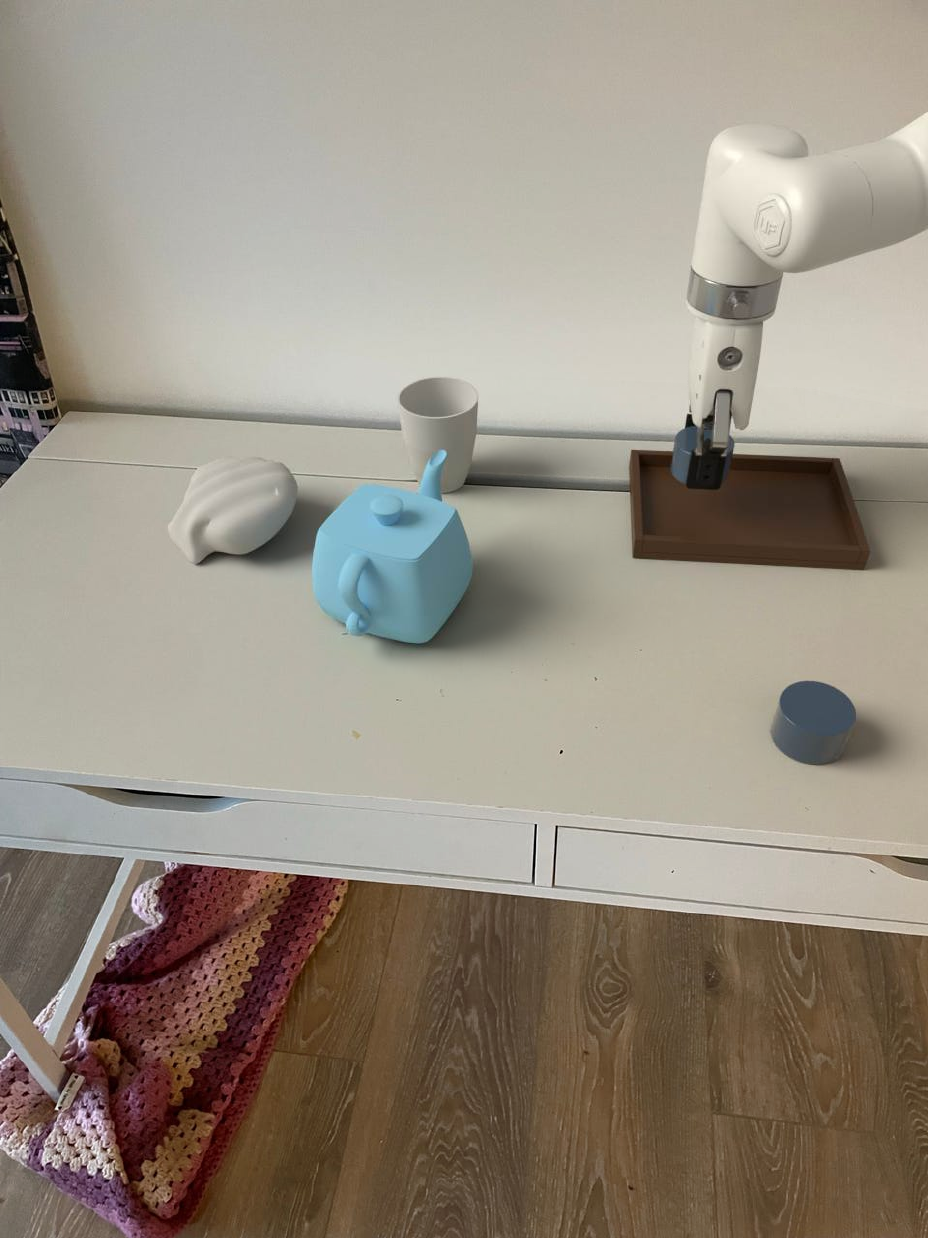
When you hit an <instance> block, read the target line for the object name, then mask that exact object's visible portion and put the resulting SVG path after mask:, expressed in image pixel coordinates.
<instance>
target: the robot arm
mask: <svg viewBox="0 0 928 1238" xmlns="http://www.w3.org/2000/svg"><path fill="white" fill-rule="evenodd" d="M706 158H707V159H706V164H705V165H706V166H705V171H704V178H703V185H702V191H701V198H700V206H699V212H698V217H697V218H698V219H697V225H696V232H695V238H694V243H693V251H692V259H691V265H690V272H689V278H688V284H687V292H686V299H685V306H686V308H687V310H688V311H689V312H690V313H691V314H692V315H694V316H695V321H694V327H693V332H692V338H691V345H690V351H689V352H690V353H689V359H688V370H687V388H688V397H689V406H688V407H689V408H688V409H689V411H688V412H689V413H686V417H685V424H684V428H687V427H691V426H697V427H698V429H697V438H696V446H695V450H691V456H690V462H689V468H688V473H687V479H686V486H687V488H689V489H707V490H718V489H719V488H720V487H721V482H722V477H723V472H724V467H725V463H726V458H727V448H728V441H729V435H730V433H731V425H732V420H733V424H734V429H735V430H740V431H744V430H746V429H747V428H748V427H749V424H750V418H751V412H752V407H753V400H754V395H755V390H756V384H757V377H758V372H759V366H760V358H761V350H762V342H763V333H764V322H766V321H768V320H769V319H770V318H772V317H773V316H774V314H775V312H776V308H777V304H778V299H779V295H780V290H781V287H782V282H783V277H784V273H787V274H790V273H791V274H799V273H805V272H810V271H813V270H816V269H820V268H823V267H826V266H829V265H833V264H836V263H839V262H842V261H845V260H847V259H851V258H855V257H857V256H861V255H863V254H864V255H865V254H867V253H871V252H875V251H879V250H881V249H884V248H885V249H886V248H888V247H891V246H894V245H896V244H899V243H902V242H904V241H906V240H909V239H911V238H913V237H915V236H917V235H919V234H921V233H923V232H925V231H927V230H928V111H926V112H925V113H923V114H922V115H920V116H919V117H917V118H916V119H914V120H913V121H911V122H910V123H908V124H906V125H905V126H903V127H902V128H900V129H899V130H897V131H895V132H893V133H892V134H890V135H887V136H886V137H883V138H882V139H880V140H877V141H873V142H868V143H862V144H859V145H855V146H850V147H847V148H842V149H838V150H834V151H830V152H826V153H823V154H816V155H809V146H808V144H807V141H806V139H805V138H804V137H803V136H802V135H801V133H799V132H797V131H795V130H793V129H790V128H789V127H784V126H780V125H775V124H769V123H746V124H739V125H734V126H731V127H727V128H725V129H724V130H722V131H721V132H720V133H718V134H717V135H716V136H715V137H714V138H713V140H712V142H711V144H710V147H709V150H708V154H707V157H706ZM705 429H707V430H712V434H711V437H710V438H706V439H705V441H704V434H705Z"/></svg>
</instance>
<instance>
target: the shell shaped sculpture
mask: <svg viewBox="0 0 928 1238" xmlns="http://www.w3.org/2000/svg"><path fill="white" fill-rule="evenodd" d="M297 498H298V483H297V480H296V478H295V477H294V474H293V473H292V472H291V470H290V469H289V468H288V467H287V466H286V465H285V464H284V463H282V462H280V461H279V462H278V461H275V460H273V459H271V460H267V459H265V458H262V457H257V456H245V457H235V456H234V457H233V456H227V457H220V458H216V459H214V460H212V461H210V462H207V463H206V464H203V465H201V466H199V467H197V468H196V470H195V472H194V473H193V475H192V477H191V478H190V483H189V486H188V487H187V489H186V490H185V494H184V497H183V500H182V503H181V505H180V506H179V507H178V509H177V511H176V512H175V514H174V516H173V518H172V520H171V521H170V522H169V523H168V525H167V532H168V536H169V537H170V539H171V540H172V542H173V543H174V544H175V546H176V547H177V548H178V549H179V550H180V551H181V552H182V553H183V554H184V556H185V557H186V558H187V559H188V560H189V562H191V564H194V565H195V564H196V565H197V564H200V563H201V562H202V561H203V560H205V558H207V556H208V555H211V554H212V553H214V552H219V553H226V554H230V555H245V554H249V553H252V552H253V551H255V550H257V549H258V548H260V547H262V546H263V545H264V544H266V543H267V542H268V541H270V540H271V539H272V538H274V537H275V536H276V535H277V534H278V533H279V532H280V531H281V529H282V528H283V527H284V526H285V524H286V523H287V521H288V520H289V518H290V517H291V515H292V514H293V511H294V509H295V506H296V503H297Z"/></svg>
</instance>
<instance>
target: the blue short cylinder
mask: <svg viewBox="0 0 928 1238" xmlns="http://www.w3.org/2000/svg"><path fill="white" fill-rule="evenodd" d="M697 429H698V427H697V426H691V427H687V428H685V427H684V428H682V429H681V430H679V431H678V432H677V433H676V435H675V437H674V442H673V449H672V451H673V454H672V461H671V467H670V470H671V473H672V475H673V476H674V478H675V479H677V480H678V481H680V482H681V483H683V484H686V479H687V473H688V468H689V462H690V456H691V450H695V446H696V438H697ZM711 434H712V430H707V429H705V434H704V441H705V439H706V438H710V437H711ZM734 450H735V440H734V439H733V437H732V435H731V434H729V441H728V448H727V458H726V463H725V467H724V472H723V477H722V482H721V484H722V483H723V482H724V481H726V479H727V478H728V474H729V470H730V465H731V460H732V455H733V454H734Z"/></svg>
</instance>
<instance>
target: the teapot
mask: <svg viewBox="0 0 928 1238" xmlns="http://www.w3.org/2000/svg"><path fill="white" fill-rule="evenodd" d="M446 455H447V454H446V451H445V450H439V451H437V452H436V453H435V454H434V455H433V456H432V457H431V458H430V460H429V461H428V464H427V466H426V469H425V472H424V475H423V478H422V481H421V485H419V489H418V492H414V491H411V490H406V489H402V488H397V487H392V486H387V485H381V484H374V483H365V484H360V486H358V487H357V488H356V489H355V490H353V491H352V492H351V493H350V494H349V495H348V496H347V497H346V498H345V499H344V500H343V501H342V502H341V503H340V504H339V505H338V506H337V507H336V508H335V509H334V511H333V512H332V513H331V514H330V515H329V516H328V517H326V519H325V520H324V521H323V523H321V526H320V527H318V530H317V534H316V537H315V543H314V548H313V554H312V563H311V573H312V574H311V578H312V590H313V591H312V592H313V596H314V599H315V601H316V603H317V604H318V606H319V608H320V609H321V610H322V611H323V613H325V614H326V615H327V616H329V617H331V618H332V619H335V620H336V621H338V622H340V623H343V624H344V625H345V630H346V632H348V634H350V635H351V636H354V637H360V636H363V635H364V634H365V635H366V633H367V634H369V635H373V636H376V637H381V638H384V639H389V640H394V641H399V642H404V643H411V644H424V643H427V642H429V641H430V640H431V639H433V637H435V636H436V634H437V633H438V632H439V630H441V628H442V627H443V625H445V623H446V622H447V620H448V619H449V618H450V617H451V615H452V614H453V612H454V610H455V609H456V608H457V606H458V604H459V603H460V601H461V600H462V598H463V597H464V595H465V593H466V591H467V589H468V587H469V584H470V583H471V580H472V576H473V557H472V552H471V551H472V550H471V547H470V542H469V538H468V536H467V532H466V530H465V527H464V523H463V521H462V519H461V516H460V514H459V511H458V510H457V508H456V507H454V506H452V505H450V504H448V503H447V502H444V501H443V495H442V493H441V484H440V482H441V472H442V468H443V465H444V462H445V459H446Z"/></svg>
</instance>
